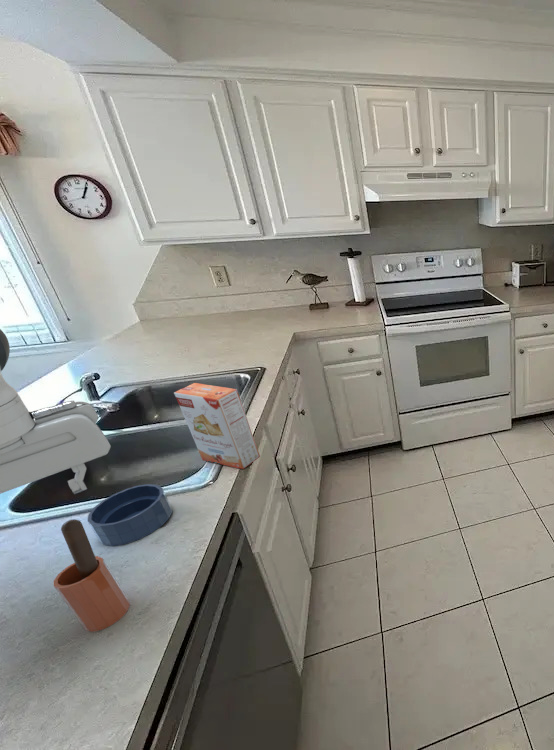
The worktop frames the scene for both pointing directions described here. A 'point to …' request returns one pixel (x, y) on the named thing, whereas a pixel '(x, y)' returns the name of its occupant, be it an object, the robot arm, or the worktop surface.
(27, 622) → the worktop surface
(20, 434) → the robot arm
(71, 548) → the stick
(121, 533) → the bowl
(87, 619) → the crock
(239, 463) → the cracker box
